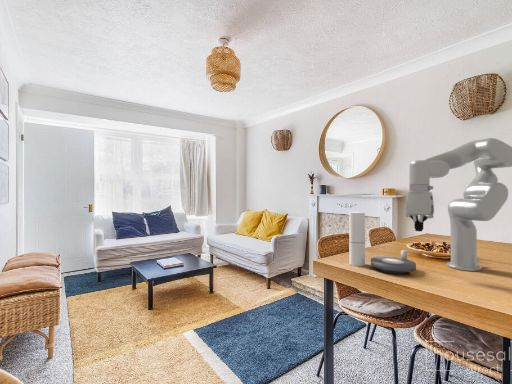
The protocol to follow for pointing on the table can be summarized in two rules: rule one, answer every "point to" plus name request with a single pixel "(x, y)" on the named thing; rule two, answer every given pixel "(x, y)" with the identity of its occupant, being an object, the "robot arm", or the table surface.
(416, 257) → the table surface
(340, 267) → the table surface
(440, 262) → the table surface
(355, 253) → the cylindrical container
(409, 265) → the disc
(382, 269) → the turntable base
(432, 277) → the table surface
